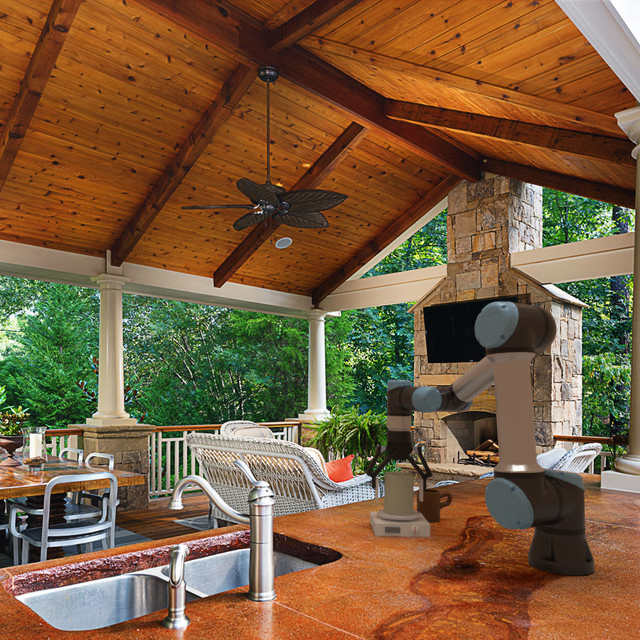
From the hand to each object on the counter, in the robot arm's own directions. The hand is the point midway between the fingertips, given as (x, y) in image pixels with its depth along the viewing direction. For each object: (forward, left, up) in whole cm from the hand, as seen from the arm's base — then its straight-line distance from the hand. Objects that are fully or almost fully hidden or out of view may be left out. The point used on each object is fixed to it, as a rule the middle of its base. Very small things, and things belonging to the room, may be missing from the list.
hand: (398, 500), depth 176 cm
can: (0, 0, -4) cm, 4 cm away
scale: (0, 0, -9) cm, 9 cm away
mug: (+14, -14, -9) cm, 22 cm away
